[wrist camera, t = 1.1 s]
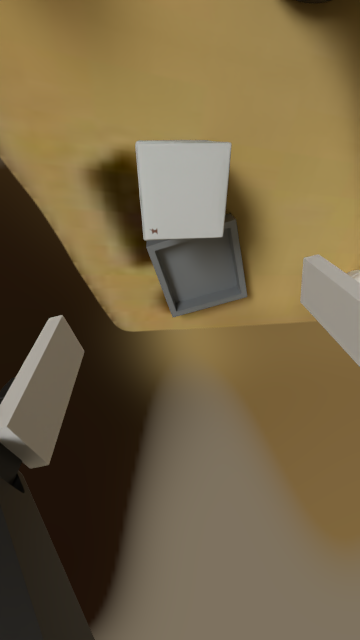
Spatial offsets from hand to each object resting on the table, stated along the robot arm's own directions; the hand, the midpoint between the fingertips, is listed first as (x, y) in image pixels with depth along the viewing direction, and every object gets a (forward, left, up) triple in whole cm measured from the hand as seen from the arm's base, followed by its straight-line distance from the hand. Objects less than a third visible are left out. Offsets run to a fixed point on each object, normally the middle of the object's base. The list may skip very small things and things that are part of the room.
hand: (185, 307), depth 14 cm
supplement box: (-2, -3, -24) cm, 24 cm away
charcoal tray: (-2, +9, -23) cm, 25 cm away
